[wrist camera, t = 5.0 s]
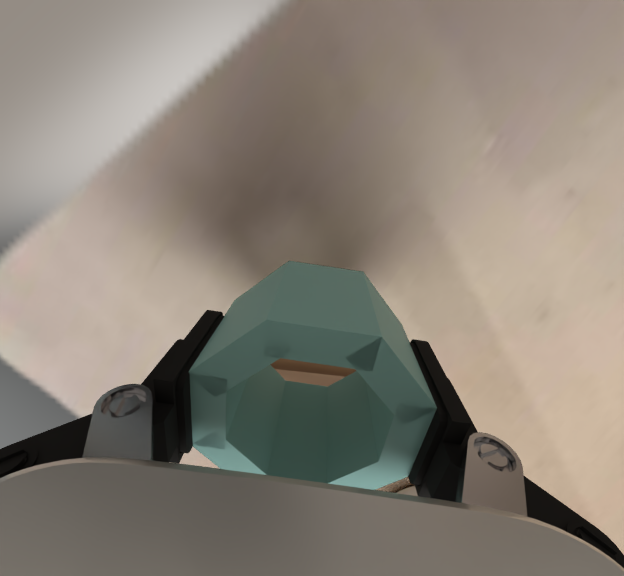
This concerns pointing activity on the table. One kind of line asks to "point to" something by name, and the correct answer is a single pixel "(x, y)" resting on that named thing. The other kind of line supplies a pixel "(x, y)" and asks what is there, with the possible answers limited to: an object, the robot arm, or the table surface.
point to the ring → (307, 397)
